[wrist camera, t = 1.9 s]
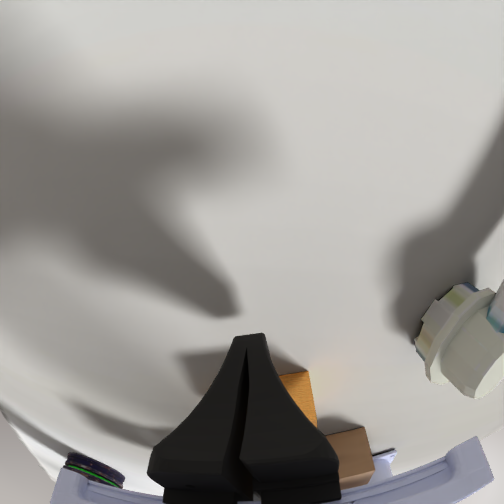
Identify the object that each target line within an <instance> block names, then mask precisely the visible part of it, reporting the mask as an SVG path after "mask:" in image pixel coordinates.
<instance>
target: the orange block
mask: <svg viewBox="0 0 504 504" xmlns="http://www.w3.org/2000/svg"><path fill="white" fill-rule="evenodd" d="M279 378H280V379H281V381H282V383H283V385H284V386H285V388H286V390H287V391H288V393H289V394H290V396H291V397H292V399H293V400H294V401H295V403H296V404H297V406H298V407H299V408H300V409H301V411H302V412H303V413H304V414H305V416H306V417H307V418H308V419H309V420H310V421H311V422H312V423H313V425H314V426H315V427H316V428H317V418H316V412H315V406H314V400H313V394H312V389H311V383H310V378H309V372H308V371H304V372H299V373H293V374H286V375H280V376H279Z"/></svg>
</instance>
